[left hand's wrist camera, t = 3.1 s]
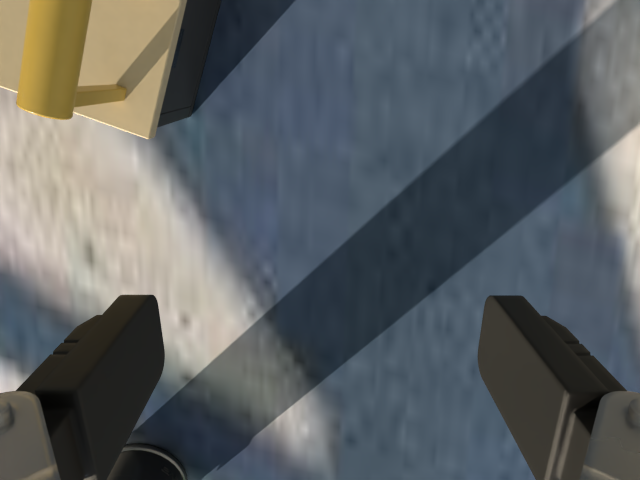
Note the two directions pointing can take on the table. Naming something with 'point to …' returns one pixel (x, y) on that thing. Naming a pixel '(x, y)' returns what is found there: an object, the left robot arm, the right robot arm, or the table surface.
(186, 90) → the chest
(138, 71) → the lid
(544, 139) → the table surface
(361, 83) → the table surface
